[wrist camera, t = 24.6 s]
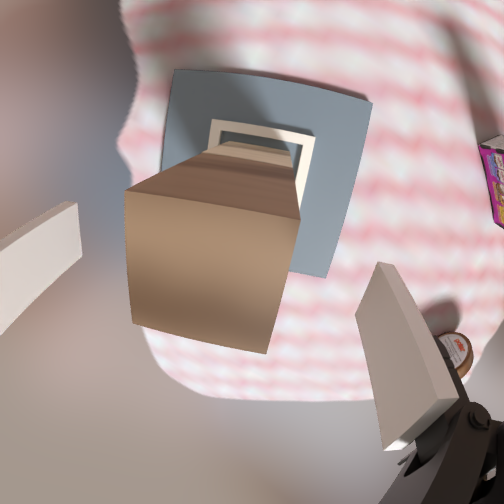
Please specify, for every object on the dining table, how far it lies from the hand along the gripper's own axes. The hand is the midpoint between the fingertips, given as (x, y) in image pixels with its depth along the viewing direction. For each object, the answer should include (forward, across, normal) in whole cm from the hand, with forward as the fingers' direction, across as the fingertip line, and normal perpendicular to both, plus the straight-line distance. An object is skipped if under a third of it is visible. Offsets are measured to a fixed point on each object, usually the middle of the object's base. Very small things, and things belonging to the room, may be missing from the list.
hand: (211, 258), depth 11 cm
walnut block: (+9, 0, 0) cm, 9 cm away
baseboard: (+20, 0, -1) cm, 20 cm away
